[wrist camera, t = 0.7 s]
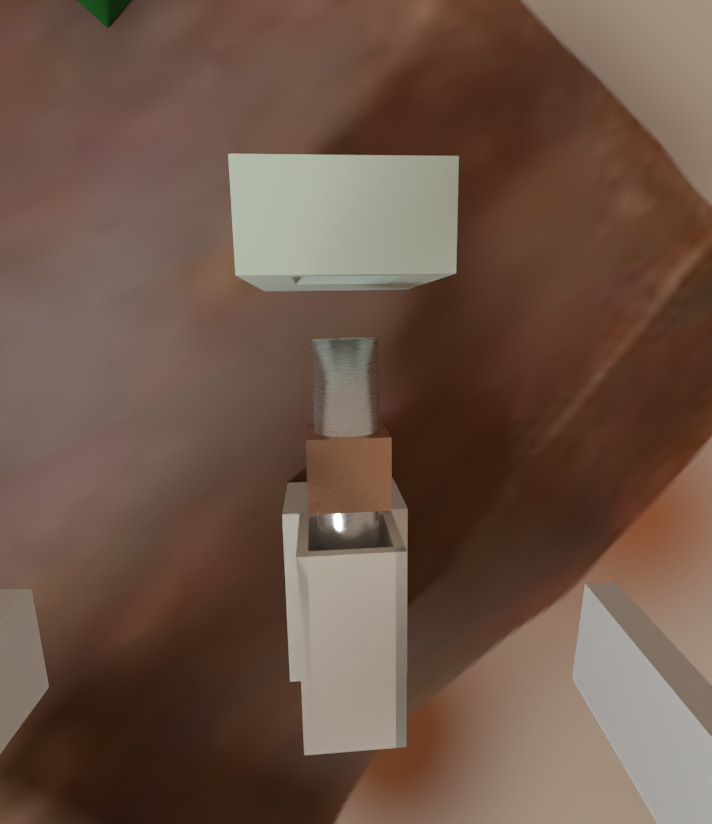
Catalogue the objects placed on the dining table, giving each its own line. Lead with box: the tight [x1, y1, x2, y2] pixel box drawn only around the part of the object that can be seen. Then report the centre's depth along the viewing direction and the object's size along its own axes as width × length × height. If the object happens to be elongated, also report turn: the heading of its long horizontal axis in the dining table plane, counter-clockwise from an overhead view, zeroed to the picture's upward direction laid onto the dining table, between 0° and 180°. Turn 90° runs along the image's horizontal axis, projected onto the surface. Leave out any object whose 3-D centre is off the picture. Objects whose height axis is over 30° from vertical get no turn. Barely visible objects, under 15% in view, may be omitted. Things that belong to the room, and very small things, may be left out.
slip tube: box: [306, 337, 392, 551], centre depth 28 cm, size 19×4×4 cm, turn 1°
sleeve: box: [282, 478, 408, 755], centre depth 32 cm, size 12×8×12 cm, turn 1°
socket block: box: [228, 154, 459, 291], centre depth 28 cm, size 5×10×13 cm, turn 91°
